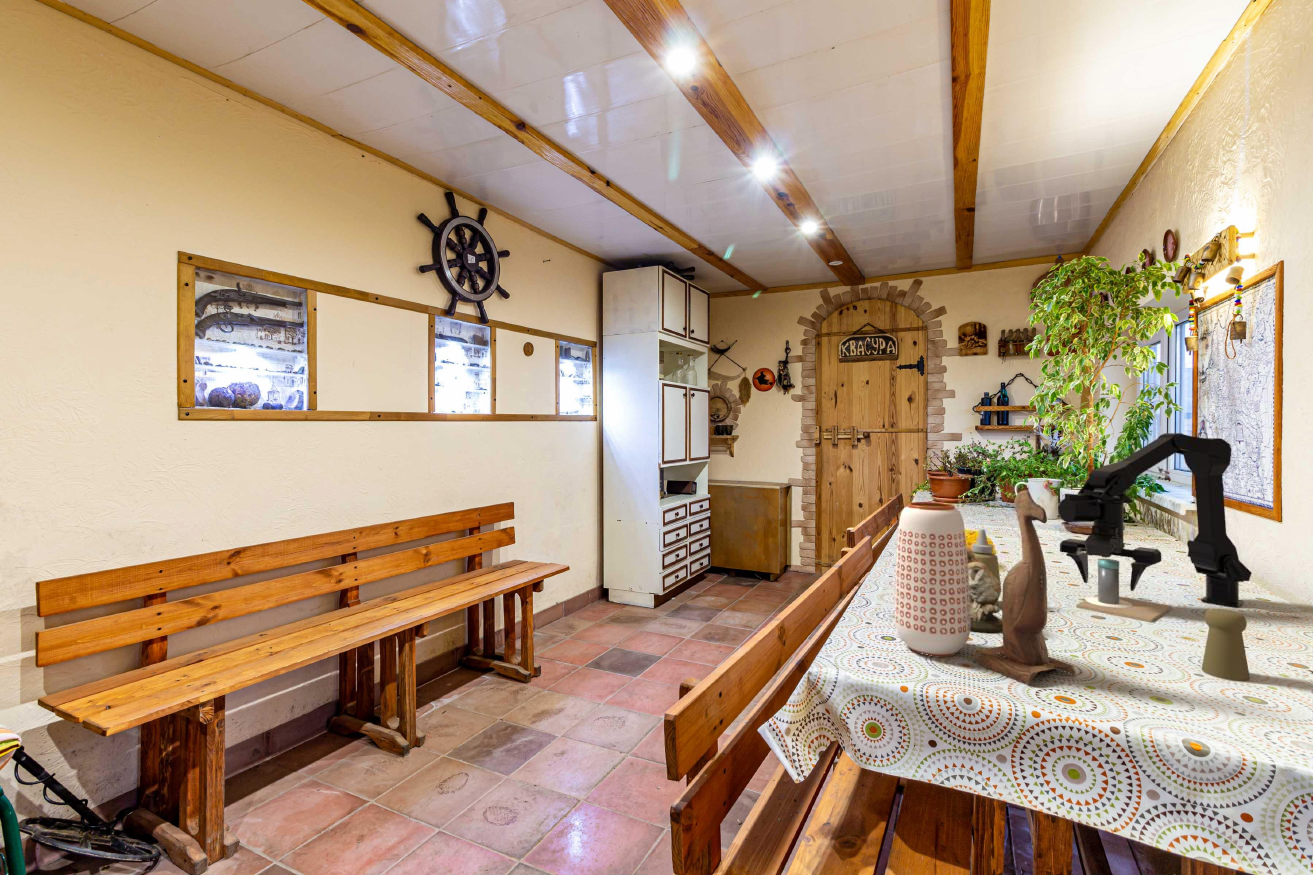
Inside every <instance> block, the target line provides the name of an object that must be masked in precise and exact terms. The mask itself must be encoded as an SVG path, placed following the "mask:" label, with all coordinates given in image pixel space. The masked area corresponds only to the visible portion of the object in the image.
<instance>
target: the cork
mask: <svg viewBox="0 0 1313 875" xmlns="http://www.w3.org/2000/svg"><path fill="white" fill-rule="evenodd" d="M1204 620H1205V624H1206V625H1207V626H1208V632H1207V638H1206V642H1205V648H1204V654H1203V660H1202V666H1201V670H1202V672H1204V674H1207V675H1209V676H1212V677H1215V678H1217V679H1223V680H1227V681H1234V682H1235V681H1236V682H1248V681H1250V680H1251V677H1250V671H1249V665H1248V659H1247V653H1246V648H1245V643H1244V636H1243V632H1245V630H1246V628H1247V625H1248V624H1247V623H1248V622H1247V619H1246V617H1245V616H1244V614H1241V612H1237V611H1235V610H1231V609H1225V608H1210V609H1208V610H1207V611H1206V612H1205V614H1204Z"/></svg>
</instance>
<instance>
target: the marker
mask: <svg viewBox="0 0 1313 875" xmlns="http://www.w3.org/2000/svg"><path fill="white" fill-rule="evenodd" d="M1097 595H1098V601H1099V602H1101V603H1105V604H1114V605H1115V604H1119V596H1120V561H1119V560H1117V559H1112V558H1098V559H1097Z"/></svg>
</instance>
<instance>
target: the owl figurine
mask: <svg viewBox="0 0 1313 875" xmlns="http://www.w3.org/2000/svg"><path fill="white" fill-rule="evenodd" d="M967 559H968V574H969V597H970V632H972V633H973V632H974V633H983V634H984V633H987V632H988V633H989V634H996V633H1002V632H1003V624H1002V620H1000V618H999V617H997V615H994V614H997V613H1000V611H1001V609H1000V606H998V605H997V604H996V605H994V604H995V603H996V601H997V599H998V596H999V594H1000V586H999V584H1000V583H1001V581H1000V582H999V581H998V579H997V578H996V577H994V576H993V574H992V573H991V572H990V571H989V569H988V567H987V566H986V565H985V564H983V563H981V562H980V561H979V560H978V559H976V558H975V556H974V553H973V551H972V548H970V547H969V546H967ZM1000 595H1001V594H1000ZM999 597H1000V596H999ZM998 600H999V599H998Z"/></svg>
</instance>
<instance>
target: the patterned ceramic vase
mask: <svg viewBox="0 0 1313 875" xmlns="http://www.w3.org/2000/svg"><path fill="white" fill-rule="evenodd" d="M898 521H899V522H898V531H897V532H898V533H897V541H896V542H897V543H896V559H895V560H896V561H895V584H894V585H895V587H894V588H895V590H894V591H895V592H894V625H895V629H896V631H897V634H898V635H899V637H900V639H901V640H902V641H903V643H904V644H906V646H907V647H909V648H910V649H909V648H908V649H909V650H911V649H912V650H914V651H916V652H915V653H917V652H919V653H923V654H928V655H932V656H931V657H934V656H940V657H939V658H945V657H946V658H947V656H949V657H953V656H955V655H957V653H958V652H959V651H960V650H961V649H962V648H963V647H964V646H965V645H966V644H967V642H968V641H969V637H970V633H971V631H970V597H969V574H968V559H967V547H968V546H967V539H966V538H967V536H966V529H965V523H964V518H963V516H962V513H961V512H960V511H959V509H957V508H956V506H955V505H954V504H953V503H946V502H940V501H938V502H937V501H915V502H914V501H913V502H909V503H907V506H905V507H904V508H903V509H902V511H901V513H900V516H899V520H898ZM912 650H911V651H912ZM914 651H913V652H914ZM919 653H918V654H919ZM923 654H922V655H923Z"/></svg>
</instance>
